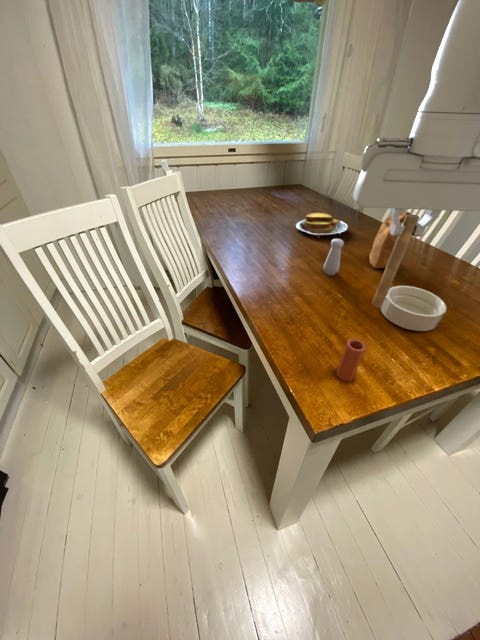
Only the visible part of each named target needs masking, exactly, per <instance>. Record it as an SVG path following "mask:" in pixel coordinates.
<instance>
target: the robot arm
mask: <svg viewBox="0 0 480 640" xmlns="http://www.w3.org/2000/svg"><path fill="white" fill-rule="evenodd" d="M360 163H361V164H360V165H361V171H360V173H359V176H358V179H357V181H356V184H355V187H354V190H353V193H352V198H353V200H354V202H355V204H356V205H357V206H358V207H359V208H368V209H369V208H370V209H389V214H390V215H391V220H392V222H393V223H392V226H391V229H390V234H391V235H394V236H395V235H396V236H401V235H402V234H403V231H404V229H405V225H403V224H402V223H400V219H399V215H400V216H402V215H403V214H404V211H406V210H422V211H423V210H424V214H425V215H424V216H423V217H422V218H421V219H419V220H418V222H417V224H416V227H415V229H414V232H413V234H412V236H411V237H417V238H418V237H419V238H421V237H423V235H424V233H425V232H426V229H427V228H428V227H429V226H431V224H433V223H434V222H435V221H436V220H437V219H438V218H439V217H440V215H441V213H442V211H452V212H453V211H455V212H478V213H479V212H480V0H458V1H457V3H456V6H455V8H454V10H453V12H452V15H451V17H450V19H449V22H448V24H447V26H446V29H445V32H444V35H443V37H442V40H441V42H440V45H439V47H438V51H437V54H436V56H435V58H434V62H433V64H432V68H431V74H430V82H429V87H428V90H427V93H426V95H425V97H424V98H423V100H422V101H421V103H420V105H419V107H418V110H417V113H416V116H415V119H414V121H413V125H412V128H411V131H410V133H409V137H393V138H391V137H390V138H389V137H379V138H378V139H377V140H375V141H373V142H371V143H370V144H369V145H368V146H366V147H365V149H364V152H363V155H362V159H361V162H360Z"/></svg>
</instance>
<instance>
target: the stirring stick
mask: <svg viewBox="0 0 480 640" xmlns="http://www.w3.org/2000/svg"><path fill="white" fill-rule="evenodd" d="M419 221H420V216H419V215H417V214H412V213H410V214H407V215H406V216H405V219H404V222H403V225H405V229H404V231H403V234H402V235H401V236H398V237H397V240H396V242H395V245H394V248H393V250H392V253H391V255H390V258H389V260H388V263H387V266H386V268H384V272H382V276H381V279H380V281H379V284H378V286H377V289H376V292H375V293H374V294H375V295H374V296H373V300H372V302H371V305H372V306H373V307H374V308H378V309H379V308H380V309H381V307H382V306H383V303H384V301H385V298H386V296H387V294H388V291H389V289H390V288H391V286H392V284H393V282H394V279H395V277H396V275H397V272H398V269H399V268H400V265H401V262H402V260H403V258H404V255H405V253H406V251H407V248H408V246H409V244H410V241H411V238H412V237H413V236H412V234H413V232H414V229H415V227H416V224H417V223H418V222H419Z"/></svg>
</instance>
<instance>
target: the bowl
mask: <svg viewBox="0 0 480 640" xmlns="http://www.w3.org/2000/svg"><path fill="white" fill-rule="evenodd" d="M380 312H381V314H383V316H384V317H385V318H386V319H387V320H388V321H389V322H390V323H393V324H394V325H396V326H398V327H400V328H403V329H406V330H410V331H417V332H428V331H431V330H434V329H435V328H436V327H438V325H439V324H440V322H441V320H442V319H443V318H444V315H445V314H446V312H447V305H446V303H445V302H444V300H443V299H442V298H441V297H439V296H438V295H435V294H434V293H433V292H430V291H428V290H426V289H423V288H419V287H417V286H411V285H396V286H392V287H390V289H389V291H388V294H387V296H386V298H385V301H384V303H383V306H382V307H380Z"/></svg>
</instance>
